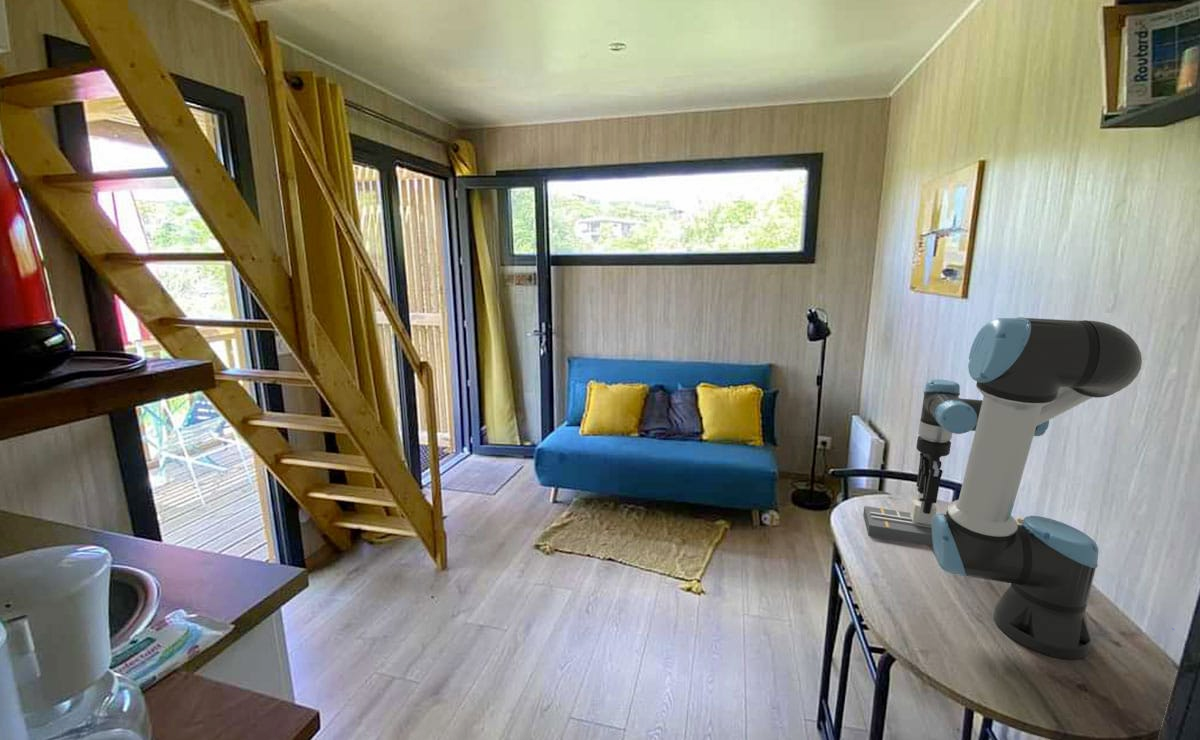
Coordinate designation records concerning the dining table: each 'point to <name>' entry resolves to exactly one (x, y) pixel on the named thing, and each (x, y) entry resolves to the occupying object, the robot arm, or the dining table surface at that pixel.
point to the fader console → (896, 526)
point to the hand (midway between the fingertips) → (922, 518)
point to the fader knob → (916, 509)
